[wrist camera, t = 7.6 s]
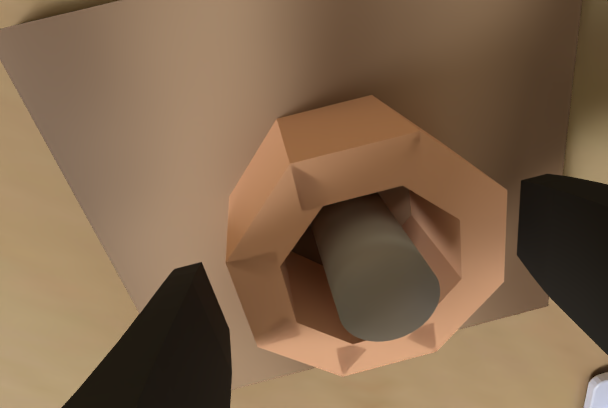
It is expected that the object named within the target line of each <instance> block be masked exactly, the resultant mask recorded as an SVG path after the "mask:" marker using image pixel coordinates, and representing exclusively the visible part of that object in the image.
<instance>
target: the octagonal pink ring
mask: <svg viewBox="0 0 608 408" xmlns="http://www.w3.org/2000/svg"><path fill="white" fill-rule="evenodd" d="M399 186H404V187H406V188H408V189H409V195H410V206H411V216H410V217H409V218H408V219H407V221H406V222H405V223H404V224H403V226H402V228H403V230H404V231H405V232H406V234H407V235H408V237H409V238H410V240H411V241H412V242H413V244H414V245H415V247H416V248H417V250H418V251H419V252H420V254H421V255H422V257H423V258H424V259H425V261H426V262H427V264H428V265H429V267H430V268H431V269H432V271H433V272H434V274H435V275H436V277H437V279H438V281H439V285H440V298H439V302H438V305H437V307H436V309H435V311H434V312H433V314H432V315H431V317H430V318H429V319H428V320H427V321H426V322H425V323H424V324H423V325H422V326H421V327H419V328H418V329H417V330H415V331H414V332H412V333H410V334H408V335H406V336H403V337H401V338H398V339H395V340H390V341H383V342H374V341H367V340H363V339H360V338H357V337H355V336H353V335H352V334H350V333H349V332H348V331H347V330H346V329H345V328H344V326H343V325H342V323H341V321H340V318H339V315H338V312H337V309H336V305H335V302H334V299H333V296H332V292H331V289H330V286H329V283H328V279H327V276H326V273H325V270H324V266H322V265H320V264H318V263H316V262H314V261H311V260H309V259H307V258H305V257H303V256H301V255H298V254H296V253H294V252H292V251H291V250H292V249H293V248H294V246H295V245H296V243H297V242H298V240H299V239H300V238H301V236H302V235H303V233H304V232H305V231H306V229H307V228H308V226H309V225H310V224H311V222H312V221H313V219H314V218H315V217H316V215H317V214H318V212H319V211H320V210H321V208H322V207H323V206H325V205H329V204H333V203H337V202H341V201H345V200H349V199H352V198H356V197H360V196H364V195H368V194H372V193H376V192H380V191H384V190H388V189H391V188H395V187H399ZM506 216H507V189H505V188H504V187H502V186H501V185H500V184H498V183H497V182H496V181H494V180H493V179H491V178H490V177H489V176H487V175H486V174H485V173H483V172H482V171H480V170H479V169H478V168H476V167H475V166H473V165H472V164H471V163H469V162H468V161H467V160H465V159H464V158H462V157H461V156H460V155H458V154H457V153H456V152H454V151H453V150H451V149H450V148H449V147H447V146H446V145H445V144H443V143H442V142H440V141H439V140H437V139H436V138H434V137H433V136H431V135H430V134H429V133H427V132H426V131H424V130H423V129H421V128H420V127H418V126H417V125H415V124H414V123H412V122H411V121H409V120H408V119H407V118H405V117H404V116H402V115H401V114H399V113H398V112H396V111H395V110H393V109H392V108H390V107H389V106H387V105H386V104H385V103H383V102H382V101H380V100H379V99H377V98H376V97H374V96H373V95H369V96H365V97H361V98H357V99H353V100H349V101H345V102H341V103H337V104H333V105H329V106H325V107H321V108H317V109H313V110H309V111H305V112H301V113H297V114H293V115H289V116H285V117H281V118H277V119H276V120H275V122H274V124H273V125H272V127H271V129H270V130H269V132H268V134H267V135H266V137H265V139H264V140H263V142H262V143H261V145H260V147H259V148H258V150H257V152H256V153H255V155H254V157H253V158H252V160H251V162H250V163H249V165H248V166H247V168H246V170H245V171H244V173H243V175H242V176H241V178H240V180H239V181H238V183H237V184H236V186H235V188H234V189H233V191H232V193H231V194H230V196H229V210H228V228H227V246H226V266H227V268H228V271H229V273H230V276H231V279H232V281H233V284H234V287H235V289H236V292H237V294H238V297H239V300H240V302H241V305H242V308H243V310H244V313H245V315H246V318H247V321H248V323H249V326H250V329H251V331H252V334H253V336H254V339H255V342H256V344H257V347H259V348H262V349H265V350H267V351H270V352H273V353H276V354H279V355H282V356H285V357H288V358H290V359H293V360H296V361H299V362H302V363H305V364H308V365H310V366H313V367H316V368H319V369H322V370H325V371H328V372H331V373H333V374H336V375H339V376H342V377H343V376H347V375H351V374H355V373H358V372H362V371H366V370H370V369H373V368H377V367H381V366H385V365H388V364H392V363H396V362H399V361H403V360H407V359H411V358H414V357H418V356H422V355H426V354H429V353H433V352H436V351H437V350H438V349H439V348H440V347H441V346H442V345H443V344H444V343H445V342H446V341H447V340H448V339H449V338H450V337H451V336H452V335H453V334H454V333H455V332H456V331H457V330H458V329H459V328H460V327H461V326H462V325H463V324H464V323H465V322H466V321H467V319H468V318H469V317H470V316H471V315H472V314H473V313H474V312H475V311H476V310H477V309H478V308H479V307H480V306H481V305H482V304H483V303H484V302H485V301H486V300H487V299H488V298H489V297H490V296H491V295H492V294H493V293H494V292H495V291H496V290H497V289H498V287H499V286H500V285H501V284H502V283H503V282H504V269H505V243H506Z"/></svg>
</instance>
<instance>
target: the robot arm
mask: <svg viewBox="0 0 608 408" xmlns="http://www.w3.org/2000/svg"><path fill="white" fill-rule="evenodd" d="M517 256H518V257H519V259H520V260H521V262H522V263H523V264H524V266H525V267H526V268H527V270H528V271H529V273H530V274H531V275H532V277H533V278H534V279H535V280H536V282H537V283H538V284H539V285H540V287H541V288H542V289H543V290H544V292H545V293H546V294H547V295H548V296H549V297H550V298H551V299H552V300H553V301H554V302H555V303H556V304H557V305H558V306H559V307H560V308H561V309H562V310H563V311H564V312H565V313H566V314H567V315H568V316H569V317H570V318H571V319H572V320H573V321H574V322H575V323H576V324H577V325H578V326H579V327H580V328H581V329H582V330H583V331H584V332H585V333H586V334H587V335H588V336H589V337H590V338H591V339H592V340H593V341H594V342H595V343H596V344H597V345H598V346H599V347H600V348H601V349H602V350H603V351H604V352H605V353H606V354H607V355H608V185H607V184H603V183H598V182H594V181H589V180H584V179H579V178H574V177H568V176H562V175H555V174H544V175H540V176H536V177H532V178H528V179H524V180H521V186H520V204H519V222H518V240H517ZM231 383H232V360H231V343H230V329H229V327H228V324H227V322H226V320H225V317H224V315H223V312H222V310H221V308H220V305H219V303H218V300H217V298H216V295H215V293H214V291H213V288H212V286H211V283H210V281H209V278H208V276H207V274H206V271H205V269H204V266H203V264H202V262H199V263H195V264H191V265H187V266H184V267H180V268H176V269H174V270H173V271H172V272H171V273H170V274H169V276H168V277H167V278H166V280H165V281H164V282H163V283H162V285H161V286H160V287H159V289H158V290H157V291H156V293H155V294H154V295H153V297H152V298H151V299H150V301H149V302H148V303H147V305H146V306H145V307H144V309H143V310H142V311H141V313H140V314H139V315H138V317H137V318H136V319H135V320H134V322H133V323H132V324H131V326H130V327H129V328H128V330H127V331H126V332H125V333H124V335H123V336H122V337H121V339H120V340H119V341H118V342H117V344H116V345H115V346H114V347H113V348H112V350H111V351H110V352H109V353H108V354H107V356H106V357H105V358H104V359H103V360H102V362H101V363H100V364H99V365H98V366H97V368H96V369H95V370H94V371H93V372H92V374H91V375H90V376H89V377H88V378H87V379H86V381H85V382H84V383H83V384H82V385H81V387H80V388H79V389H78V390H77V391H76V392H75V393H74V395H73V396H72V397H71V398H70V399H69V400H68V401H67V402H66V403H65V405H64V406H63V407H62V408H230V399H231ZM584 408H608V372H606V373H602V374H599V375H596V376H595V377H593V378H592V379H591V380H590V381H589V384H588V389H587V394H586V399H585V404H584Z"/></svg>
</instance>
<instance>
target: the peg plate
mask: <svg viewBox="0 0 608 408" xmlns="http://www.w3.org/2000/svg"><path fill="white" fill-rule="evenodd" d="M581 7H582V0H119V1H115V2H111V3H107V4H103V5H98V6H94V7H90V8H86V9H81V10H77V11H73V12H69V13H65V14H60V15H56V16H52V17H48V18H44V19H39V20H35V21H31V22H27V23H23V24H18V25H14V26H10V27H6V28H2V29H0V60H1V62H2V64H3V66H4V68H5V69H6V71H7V73H8V75H9V77H10V78H11V80H12V82H13V84H14V86H15V88H16V89H17V91H18V93H19V95H20V97H21V98H22V100H23V102H24V104H25V106H26V108H27V109H28V111H29V113H30V115H31V117H32V119H33V120H34V122H35V124H36V126H37V128H38V129H39V131H40V133H41V135H42V137H43V139H44V140H45V142H46V144H47V146H48V148H49V150H50V151H51V153H52V155H53V157H54V159H55V160H56V162H57V164H58V166H59V168H60V170H61V171H62V173H63V175H64V177H65V179H66V180H67V182H68V184H69V186H70V188H71V190H72V191H73V193H74V195H75V197H76V199H77V201H78V202H79V204H80V206H81V208H82V210H83V211H84V213H85V215H86V217H87V219H88V221H89V222H90V224H91V226H92V228H93V230H94V232H95V233H96V235H97V237H98V239H99V241H100V242H101V244H102V246H103V248H104V250H105V252H106V253H107V255H108V257H109V259H110V261H111V262H112V264H113V266H114V268H115V270H116V272H117V273H118V275H119V277H120V279H121V281H122V283H123V284H124V286H125V288H126V290H127V292H128V293H129V295H130V297H131V299H132V301H133V303H134V304H135V306H136V308H137V310H138V312H139V314H140V313H141V311H142V310H143V309H144V307H145V306H146V305H147V303H148V302H149V301H150V299H151V298H152V297H153V295H154V294H155V293H156V291H157V290H158V289H159V287H160V286H161V285H162V283H163V282H164V281H165V280H166V278H167V277H168V276H169V274H170V273H171V272H172V271H173V270H174V269H176V268H180V267H184V266H187V265H191V264H195V263H199V262H202V264H203V266H204V269H205V271H206V274H207V276H208V278H209V281H210V283H211V286H212V288H213V291H214V293H215V295H216V298H217V300H218V303H219V305H220V308H221V310H222V312H223V315H224V317H225V320H226V322H227V324H228V327H229V329H230V343H231V360H232V383H231V390H233V389H237V388H241V387H245V386H248V385H252V384H256V383H260V382H264V381H267V380H271V379H275V378H279V377H282V376H286V375H290V374H294V373H297V372H301V371H305V370H309V369H312V368H316V367H313V366H310V365H308V364H305V363H302V362H299V361H296V360H293V359H290V358H288V357H285V356H282V355H279V354H276V353H273V352H270V351H267V350H265V349H262V348H259V347H257V344H256V342H255V339H254V336H253V334H252V331H251V329H250V326H249V323H248V321H247V318H246V315H245V313H244V310H243V308H242V305H241V302H240V300H239V297H238V294H237V292H236V289H235V287H234V284H233V281H232V279H231V276H230V273H229V271H228V268H227V266H226V246H227V228H228V210H229V196H230V194H231V193H232V191H233V189H234V188H235V186H236V184H237V183H238V181H239V180H240V178H241V176H242V175H243V173H244V171H245V170H246V168H247V166H248V165H249V163H250V162H251V160H252V158H253V157H254V155H255V153H256V152H257V150H258V148H259V147H260V145H261V143H262V142H263V140H264V139H265V137H266V135H267V134H268V132H269V130H270V129H271V127H272V125H273V124H274V122H275V120H276V119H277V118H281V117H285V116H289V115H293V114H297V113H301V112H305V111H309V110H313V109H317V108H321V107H325V106H329V105H333V104H337V103H341V102H345V101H349V100H353V99H357V98H361V97H365V96H369V95H373V96H374V97H376V98H377V99H379V100H380V101H382V102H383V103H385V104H386V105H387V106H389V107H390V108H392V109H393V110H395V111H396V112H398V113H399V114H401V115H402V116H404V117H405V118H407V119H408V120H409V121H411V122H412V123H414V124H415V125H417V126H418V127H420V128H421V129H423V130H424V131H426V132H427V133H429V134H430V135H431V136H433V137H434V138H436V139H437V140H439V141H440V142H442V143H443V144H445V145H446V146H447V147H449V148H450V149H451V150H453V151H454V152H456V153H457V154H458V155H460V156H461V157H462V158H464V159H465V160H467V161H468V162H469V163H471V164H472V165H473V166H475V167H476V168H478V169H479V170H480V171H482V172H483V173H485V174H486V175H487V176H489V177H490V178H491V179H493V180H494V181H496V182H497V183H498V184H500V185H501V186H502V187H504V188H505V189H507V216H506V243H505V269H504V282H503V283H502V284H501V285H500V286H499V287H498V289H497V290H496V291H495V292H494V293H493V294H492V295H491V296H490V297H489V298H488V299H487V300H486V301H485V302H484V303H483V304H482V305H481V306H480V307H479V308H478V309H477V310H476V311H475V312H474V313H473V314H472V315H471V316H470V317H469V318H468V319H467V321H466V322H465V323H464V324H463V325H462V326H461V327H460V328H459V329H463V328H467V327H471V326H474V325H478V324H482V323H486V322H490V321H493V320H497V319H501V318H505V317H508V316H512V315H516V314H520V313H523V312H527V311H531V310H535V309H539V308H542V307H546V306H548V300H549V296H548V295H547V294H546V293H545V292H544V290H543V289H542V288H541V287H540V285H539V284H538V283H537V282H536V280H535V279H534V278H533V277H532V275H531V274H530V273H529V271H528V270H527V268H526V267H525V266H524V264H523V263H522V262H521V260H520V259H519V257H518V256H517V240H518V222H519V204H520V186H521V180H524V179H528V178H532V177H536V176H540V175H544V174H555V175H562V176H563V167H564V158H565V149H566V140H567V131H568V123H569V114H570V105H571V96H572V87H573V78H574V69H575V60H576V52H577V43H578V34H579V25H580V16H581ZM410 216H411V206H410V195H409V189H408V188H406V187H404V186H399V187H395V188H391V189H388V190H384V191H380V192H376V193H372V194H368V195H364V196H360V197H356V198H352V199H349V200H345V201H341V202H337V203H333V204H329V205H325V206H323V207H322V208H321V210H320V211H319V212H318V214H317V215H316V217H315V218H314V219H313V221H312V222H311V224H310V225H309V226H308V228H307V229H306V231H305V232H304V233H303V235H302V236H301V238H300V239H299V240H298V242H297V243H296V245H295V246H294V248H293V249H292V250H291V251H292V252H294V253H296V254H298V255H301V256H303V257H305V258H307V259H309V260H311V261H314V262H316V263H318V264H320V265H322V266H324V270H325V273H326V276H327V279H328V283H329V286H330V289H331V292H332V296H333V299H334V302H335V305H336V309H337V312H338V315H339V318H340V321H341V323H342V325H343V326H344V328H345V329H346V330H347V331H348V332H349V333H350V334H352V335H353V336H355V337H357V338H360V339H363V340H367V341H374V342H383V341H390V340H395V339H398V338H401V337H403V336H406V335H408V334H410V333H412V332H414V331H415V330H417V329H418V328H419V327H421V326H422V325H423V324H424V323H425V322H426V321H427V320H428V319H429V318H430V317H431V315H432V314H433V312H434V311H435V309H436V307H437V305H438V302H439V298H440V285H439V281H438V279H437V277H436V275H435V274H434V272H433V271H432V269H431V268H430V267H429V265H428V264H427V262H426V261H425V259H424V258H423V257H422V255H421V254H420V252H419V251H418V250H417V248H416V247H415V245H414V244H413V242H412V241H411V240H410V238H409V237H408V235H407V234H406V232H405V231H404V230H403V228H402V226H403V224H404V223H405V222H406V221H407V219H408V218H409V217H410ZM459 329H458V330H459Z"/></svg>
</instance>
